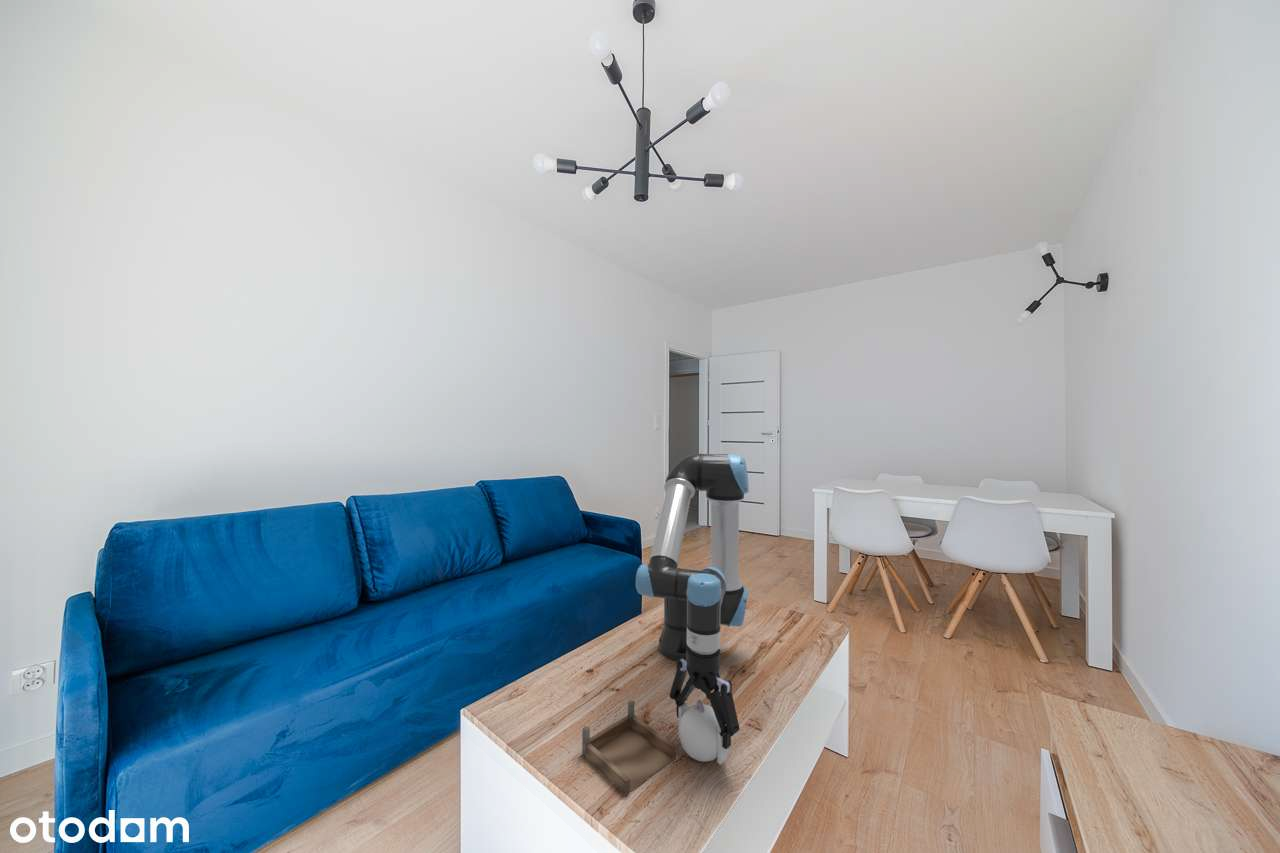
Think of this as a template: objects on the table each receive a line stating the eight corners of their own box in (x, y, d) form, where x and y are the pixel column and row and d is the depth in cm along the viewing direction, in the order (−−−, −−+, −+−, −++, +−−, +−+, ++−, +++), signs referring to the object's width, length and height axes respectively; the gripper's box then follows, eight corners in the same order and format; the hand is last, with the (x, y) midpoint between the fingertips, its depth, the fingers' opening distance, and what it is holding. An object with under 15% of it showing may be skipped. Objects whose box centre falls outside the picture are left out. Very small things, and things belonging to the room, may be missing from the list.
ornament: (673, 764, 93) (674, 709, 93) (685, 733, 103) (686, 683, 103) (720, 779, 90) (721, 721, 90) (729, 745, 99) (729, 693, 99)
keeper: (580, 755, 95) (581, 728, 96) (631, 724, 106) (631, 699, 106) (625, 797, 85) (625, 767, 85) (676, 758, 95) (676, 730, 95)
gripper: (654, 634, 102) (653, 728, 102) (737, 674, 85) (736, 787, 85) (676, 624, 107) (675, 713, 107) (757, 661, 91) (756, 767, 90)
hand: (702, 746), depth 96 cm, fingers closed on ornament, 10 cm apart
